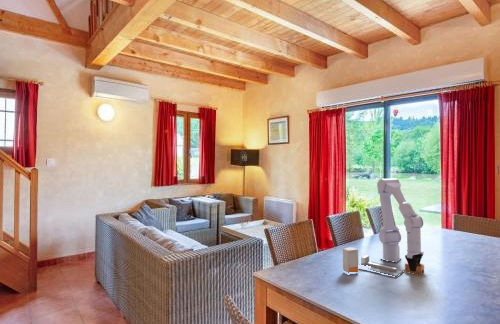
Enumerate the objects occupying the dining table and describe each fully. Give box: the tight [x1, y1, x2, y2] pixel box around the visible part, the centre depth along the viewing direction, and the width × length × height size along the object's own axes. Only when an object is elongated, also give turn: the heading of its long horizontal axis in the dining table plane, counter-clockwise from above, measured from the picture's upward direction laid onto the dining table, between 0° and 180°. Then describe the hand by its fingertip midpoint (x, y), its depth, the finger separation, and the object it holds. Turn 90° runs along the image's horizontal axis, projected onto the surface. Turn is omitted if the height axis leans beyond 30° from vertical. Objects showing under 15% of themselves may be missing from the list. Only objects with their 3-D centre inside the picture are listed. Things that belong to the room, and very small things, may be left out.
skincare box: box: [342, 246, 359, 273], centre depth 144 cm, size 6×4×12 cm
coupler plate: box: [360, 254, 405, 278], centre depth 148 cm, size 12×19×5 cm, turn 45°
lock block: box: [404, 261, 425, 276], centre depth 143 cm, size 7×5×4 cm, turn 45°
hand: (414, 269), depth 143 cm, fingers open, 5 cm apart
